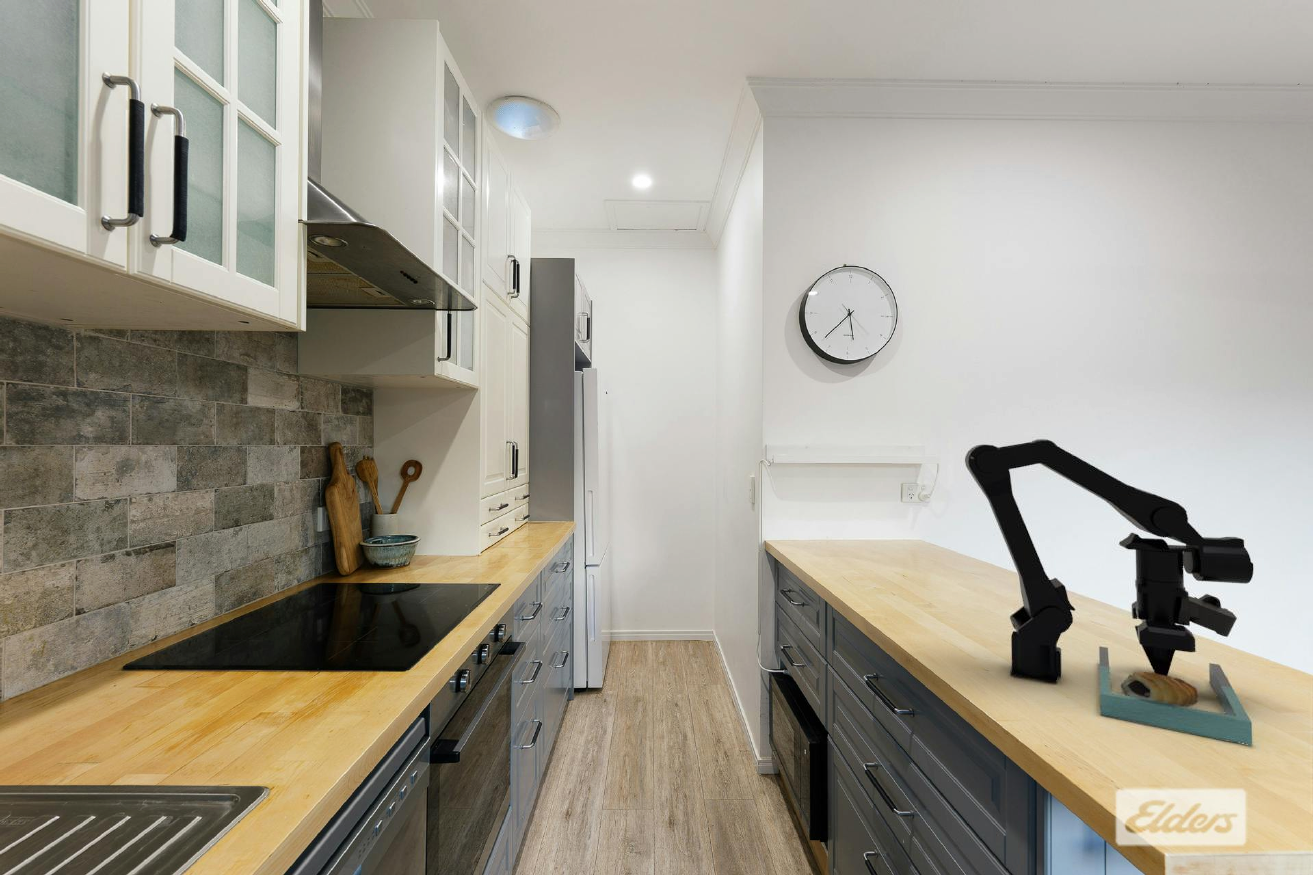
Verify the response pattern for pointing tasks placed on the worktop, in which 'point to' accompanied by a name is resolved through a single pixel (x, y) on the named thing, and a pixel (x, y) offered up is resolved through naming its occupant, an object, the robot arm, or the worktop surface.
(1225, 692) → the rail pocket
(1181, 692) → the pastry
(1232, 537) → the robot arm
